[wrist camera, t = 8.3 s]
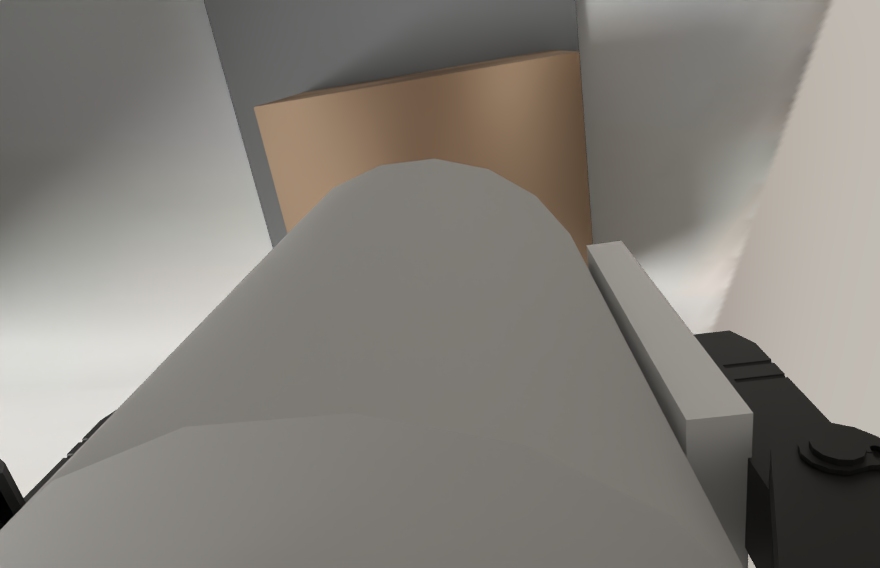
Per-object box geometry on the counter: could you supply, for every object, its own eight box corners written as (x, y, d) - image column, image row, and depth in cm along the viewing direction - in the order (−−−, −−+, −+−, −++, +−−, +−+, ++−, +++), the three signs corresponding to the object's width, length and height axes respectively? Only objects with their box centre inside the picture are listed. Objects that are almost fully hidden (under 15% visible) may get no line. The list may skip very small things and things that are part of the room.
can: (649, 281, 14) (1262, 1095, 3) (458, 473, 17) (431, 1313, 6) (400, 81, 13) (-39, 310, 2) (230, 323, 15) (-400, 1053, 4)
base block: (355, 314, 28) (327, 383, 22) (303, 92, 24) (253, 107, 18) (572, 286, 27) (600, 350, 21) (552, 49, 23) (579, 51, 17)
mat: (320, 407, 30) (318, 412, 30) (199, -31, 23) (194, -32, 22) (600, 375, 29) (602, 379, 28) (566, -103, 21) (567, -105, 21)
